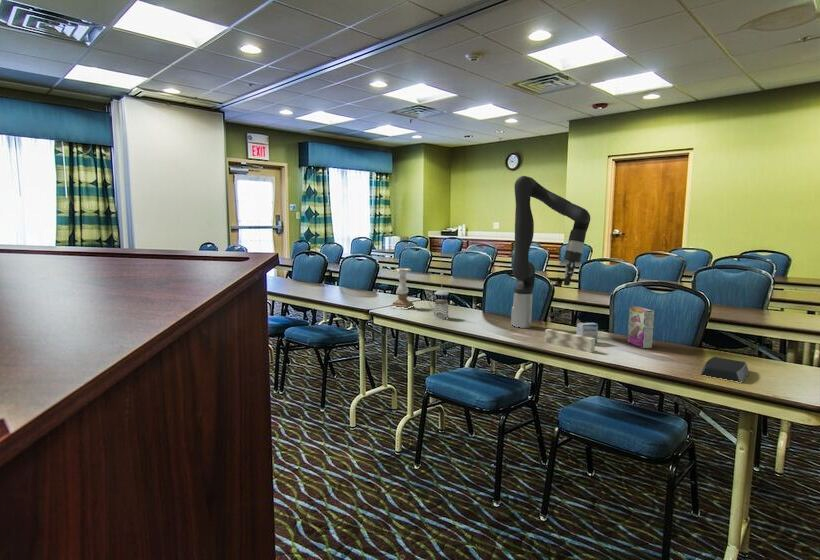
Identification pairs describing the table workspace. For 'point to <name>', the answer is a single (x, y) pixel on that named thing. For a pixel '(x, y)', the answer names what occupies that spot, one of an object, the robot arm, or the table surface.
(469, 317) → the table surface
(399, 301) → the candle holder
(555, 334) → the birch board
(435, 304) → the french press
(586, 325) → the medicine box
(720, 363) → the external hard drive
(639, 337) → the candy bar box
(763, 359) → the table surface
